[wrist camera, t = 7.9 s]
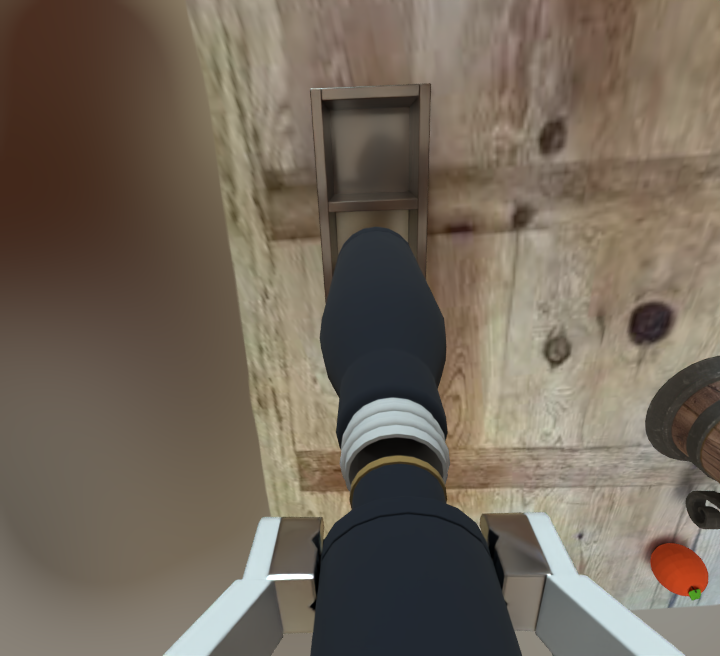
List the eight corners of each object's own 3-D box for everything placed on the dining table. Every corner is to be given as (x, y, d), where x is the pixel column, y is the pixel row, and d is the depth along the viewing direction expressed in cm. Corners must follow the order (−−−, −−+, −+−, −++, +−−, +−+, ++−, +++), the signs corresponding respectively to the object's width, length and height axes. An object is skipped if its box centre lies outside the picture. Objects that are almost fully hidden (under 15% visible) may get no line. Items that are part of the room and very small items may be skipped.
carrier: (418, 97, 41) (431, 83, 33) (415, 277, 49) (425, 302, 40) (320, 101, 42) (309, 88, 33) (332, 280, 49) (325, 305, 41)
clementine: (690, 560, 66) (726, 604, 60) (646, 572, 67) (676, 618, 61) (682, 527, 63) (718, 570, 57) (636, 541, 65) (666, 584, 58)
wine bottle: (415, 225, 33) (681, 609, 5) (413, 301, 35) (583, 829, 8) (335, 226, 33) (187, 609, 5) (338, 302, 36) (247, 826, 8)
